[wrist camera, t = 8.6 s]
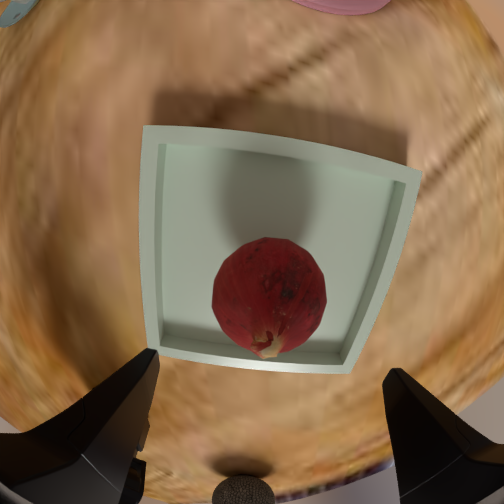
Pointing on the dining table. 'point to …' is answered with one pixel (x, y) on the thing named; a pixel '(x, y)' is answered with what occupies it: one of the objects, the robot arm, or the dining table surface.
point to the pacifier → (16, 11)
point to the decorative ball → (243, 491)
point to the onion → (269, 296)
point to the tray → (265, 225)
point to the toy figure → (344, 6)
